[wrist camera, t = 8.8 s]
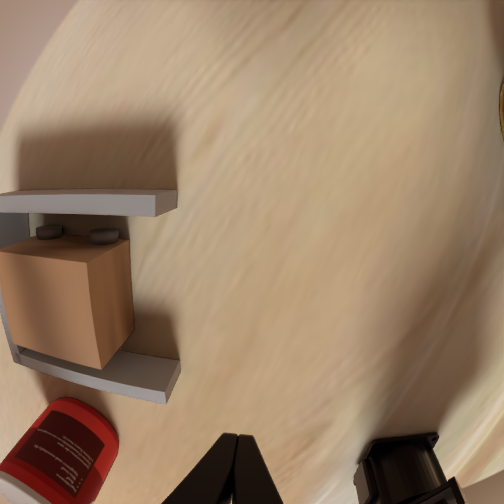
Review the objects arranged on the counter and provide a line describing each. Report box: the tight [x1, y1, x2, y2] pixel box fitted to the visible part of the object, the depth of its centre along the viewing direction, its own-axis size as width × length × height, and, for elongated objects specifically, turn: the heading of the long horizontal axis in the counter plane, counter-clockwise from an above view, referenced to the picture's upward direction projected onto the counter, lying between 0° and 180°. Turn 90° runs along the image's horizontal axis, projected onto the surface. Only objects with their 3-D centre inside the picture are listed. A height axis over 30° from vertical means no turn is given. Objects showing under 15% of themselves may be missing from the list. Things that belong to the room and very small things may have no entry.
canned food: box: [0, 397, 119, 504], centre depth 18 cm, size 8×8×11 cm
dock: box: [0, 189, 181, 404], centre depth 18 cm, size 12×12×4 cm
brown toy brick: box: [0, 225, 135, 370], centre depth 17 cm, size 7×7×5 cm
